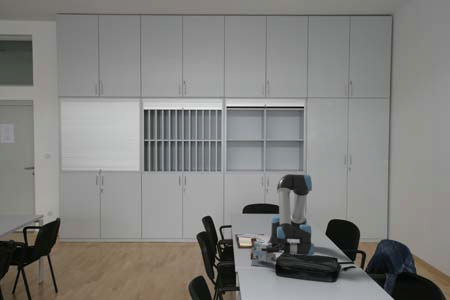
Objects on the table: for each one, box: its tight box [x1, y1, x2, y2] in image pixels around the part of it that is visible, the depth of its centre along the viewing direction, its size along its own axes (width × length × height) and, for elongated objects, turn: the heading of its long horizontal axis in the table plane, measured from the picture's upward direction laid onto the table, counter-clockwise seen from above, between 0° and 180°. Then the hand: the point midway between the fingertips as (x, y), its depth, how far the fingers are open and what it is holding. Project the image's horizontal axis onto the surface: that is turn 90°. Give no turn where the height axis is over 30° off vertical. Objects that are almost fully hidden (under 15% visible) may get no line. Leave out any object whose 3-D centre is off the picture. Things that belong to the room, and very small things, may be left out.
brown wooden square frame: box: [250, 246, 274, 261], centre depth 245 cm, size 16×16×4 cm
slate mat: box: [250, 259, 274, 268], centre depth 230 cm, size 12×14×1 cm
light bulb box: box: [253, 240, 272, 261], centre depth 230 cm, size 11×7×11 cm, turn 45°
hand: (256, 246), depth 230 cm, fingers closed on light bulb box, 11 cm apart
